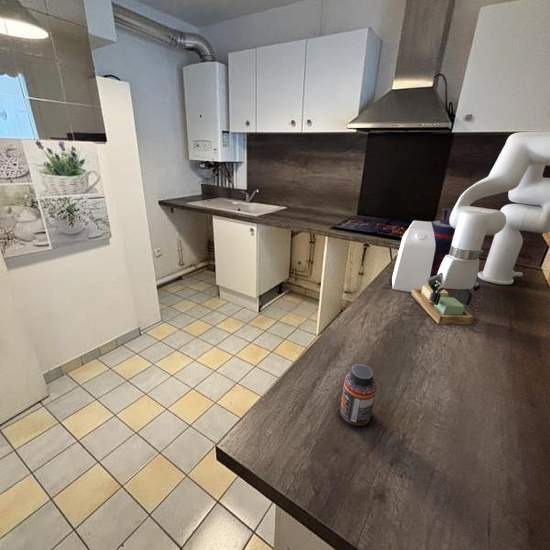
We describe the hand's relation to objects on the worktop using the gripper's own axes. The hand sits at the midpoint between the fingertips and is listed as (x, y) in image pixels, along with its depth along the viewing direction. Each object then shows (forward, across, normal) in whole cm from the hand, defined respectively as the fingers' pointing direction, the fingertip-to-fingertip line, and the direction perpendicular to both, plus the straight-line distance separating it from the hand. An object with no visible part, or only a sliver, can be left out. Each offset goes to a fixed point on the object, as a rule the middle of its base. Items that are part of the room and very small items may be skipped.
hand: (449, 303), depth 94 cm
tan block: (+4, 0, -10) cm, 10 cm away
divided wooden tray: (+4, 0, -5) cm, 7 cm away
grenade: (+5, -11, -29) cm, 31 cm away
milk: (+5, +3, -23) cm, 23 cm away
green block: (+4, 0, 0) cm, 4 cm away
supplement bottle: (+5, +40, +40) cm, 57 cm away
